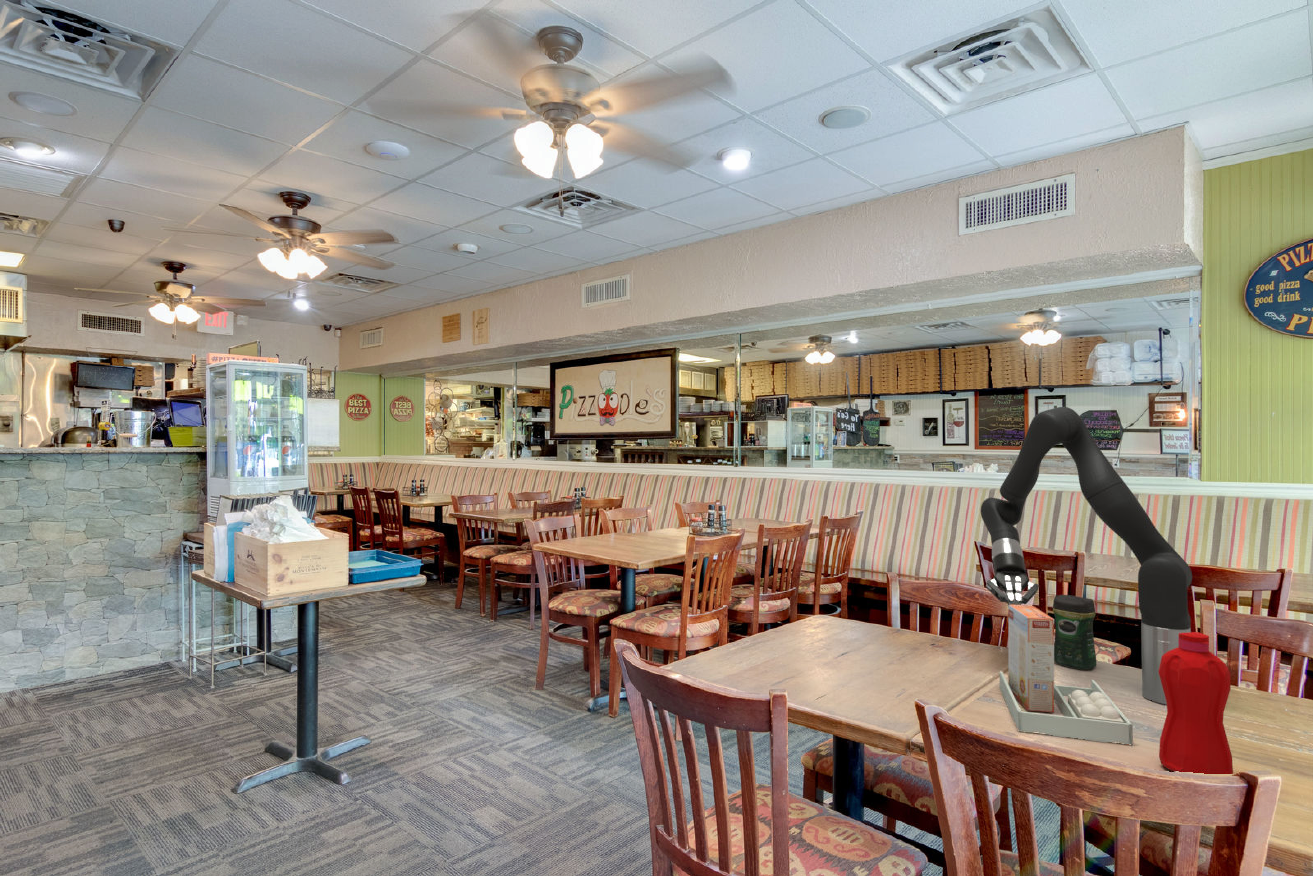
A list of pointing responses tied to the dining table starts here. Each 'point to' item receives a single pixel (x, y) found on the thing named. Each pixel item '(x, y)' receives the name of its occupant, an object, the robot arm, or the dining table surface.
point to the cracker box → (1031, 657)
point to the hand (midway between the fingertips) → (1016, 615)
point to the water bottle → (1195, 708)
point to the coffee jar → (1074, 632)
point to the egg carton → (1093, 706)
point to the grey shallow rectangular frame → (1068, 718)
